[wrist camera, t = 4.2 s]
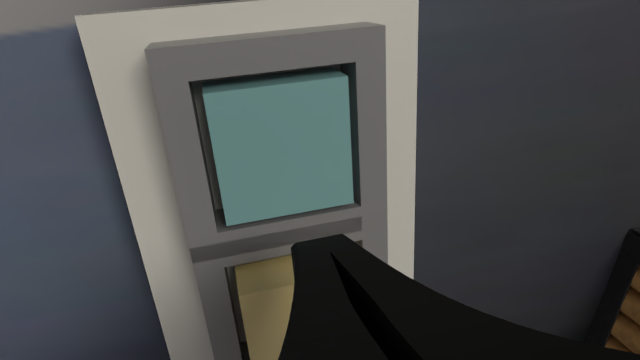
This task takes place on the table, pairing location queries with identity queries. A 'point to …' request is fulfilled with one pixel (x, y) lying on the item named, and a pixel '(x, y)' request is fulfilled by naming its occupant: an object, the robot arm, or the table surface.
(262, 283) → the ochre key
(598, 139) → the table surface
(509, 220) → the table surface
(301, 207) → the teal key
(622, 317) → the ammunition clip
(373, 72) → the button pad
